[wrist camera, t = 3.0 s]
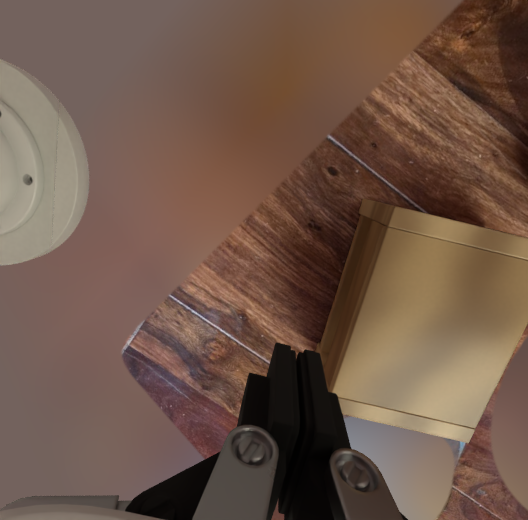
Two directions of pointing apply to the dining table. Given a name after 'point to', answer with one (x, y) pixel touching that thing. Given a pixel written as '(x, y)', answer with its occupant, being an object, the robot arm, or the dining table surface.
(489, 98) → the dining table surface
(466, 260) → the gold flanged block
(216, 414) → the dining table surface
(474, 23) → the dining table surface
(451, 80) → the dining table surface
